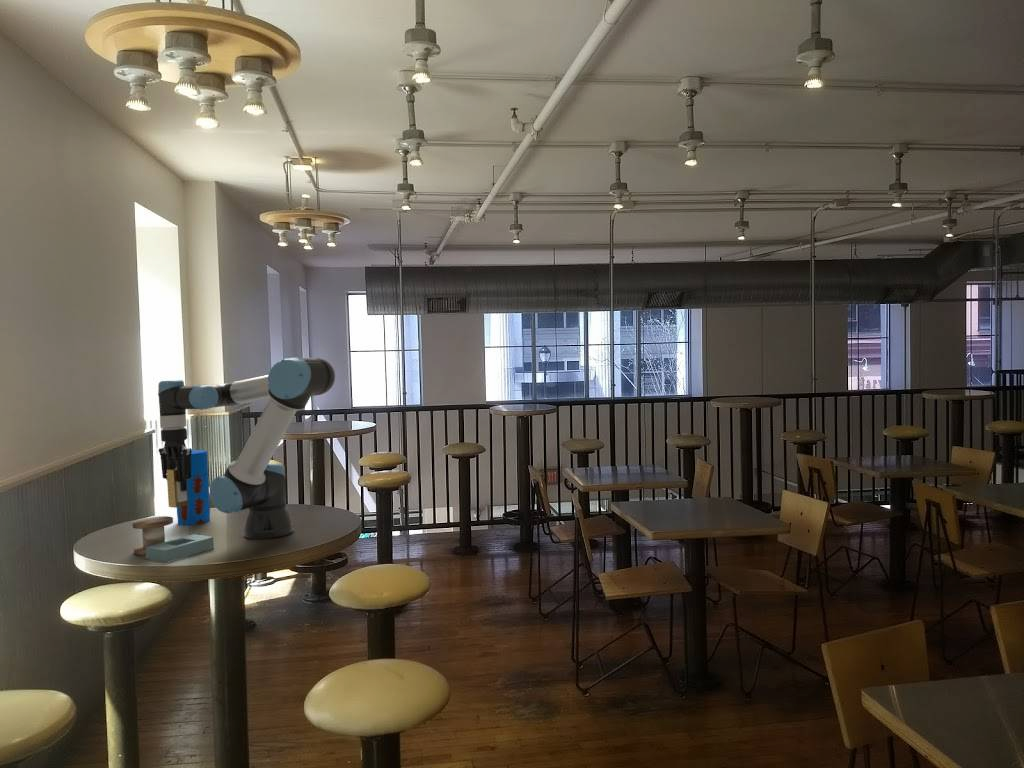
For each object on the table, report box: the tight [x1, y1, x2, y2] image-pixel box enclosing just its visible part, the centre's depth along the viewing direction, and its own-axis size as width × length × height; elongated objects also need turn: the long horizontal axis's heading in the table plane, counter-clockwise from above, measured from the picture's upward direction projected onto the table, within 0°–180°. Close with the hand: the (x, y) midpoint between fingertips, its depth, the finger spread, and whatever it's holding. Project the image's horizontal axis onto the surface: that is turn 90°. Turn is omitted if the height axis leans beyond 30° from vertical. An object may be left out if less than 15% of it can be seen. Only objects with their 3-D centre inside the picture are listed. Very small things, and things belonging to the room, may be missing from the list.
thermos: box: [176, 449, 211, 526], centre depth 251 cm, size 11×11×25 cm
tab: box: [166, 468, 188, 509], centre depth 225 cm, size 4×4×12 cm
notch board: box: [145, 533, 215, 563], centre depth 209 cm, size 16×9×4 cm, turn 151°
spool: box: [131, 515, 174, 557], centre depth 213 cm, size 11×11×9 cm
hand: (178, 500), depth 225 cm, fingers closed on tab, 3 cm apart
